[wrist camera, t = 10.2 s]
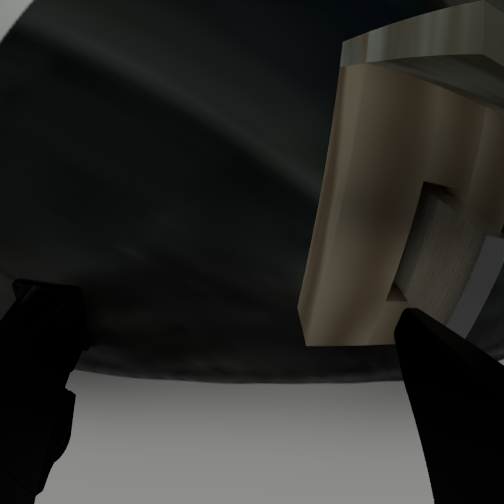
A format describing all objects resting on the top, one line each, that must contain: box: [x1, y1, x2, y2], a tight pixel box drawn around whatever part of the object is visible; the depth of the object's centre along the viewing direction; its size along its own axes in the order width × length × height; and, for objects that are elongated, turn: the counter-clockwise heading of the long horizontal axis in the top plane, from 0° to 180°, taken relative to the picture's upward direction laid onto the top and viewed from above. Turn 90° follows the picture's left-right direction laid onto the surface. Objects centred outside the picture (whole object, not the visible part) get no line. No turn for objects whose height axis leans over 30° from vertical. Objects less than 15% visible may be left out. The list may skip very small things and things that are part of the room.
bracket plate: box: [394, 182, 504, 339], centre depth 16 cm, size 2×6×8 cm, turn 174°
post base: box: [297, 0, 504, 346], centre depth 14 cm, size 12×18×12 cm, turn 174°
